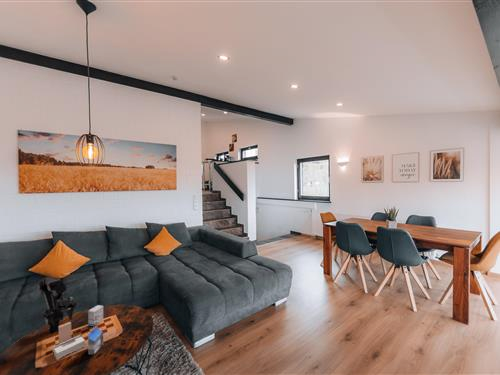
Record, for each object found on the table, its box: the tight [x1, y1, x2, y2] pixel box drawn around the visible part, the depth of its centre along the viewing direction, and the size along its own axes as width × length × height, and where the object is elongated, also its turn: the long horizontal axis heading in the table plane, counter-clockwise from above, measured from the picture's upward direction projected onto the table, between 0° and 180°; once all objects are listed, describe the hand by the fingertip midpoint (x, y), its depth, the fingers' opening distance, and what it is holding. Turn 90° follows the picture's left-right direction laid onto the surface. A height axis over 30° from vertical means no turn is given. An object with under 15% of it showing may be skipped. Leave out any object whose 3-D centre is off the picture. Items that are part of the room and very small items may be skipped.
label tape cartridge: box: [87, 325, 104, 355], centre depth 144 cm, size 9×4×12 cm, turn 1°
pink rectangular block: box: [58, 321, 73, 345], centre depth 148 cm, size 2×6×13 cm, turn 143°
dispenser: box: [52, 334, 86, 361], centre depth 144 cm, size 8×14×5 cm, turn 143°
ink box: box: [87, 304, 104, 326], centre depth 170 cm, size 9×5×12 cm, turn 168°
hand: (62, 322), depth 151 cm, fingers open, 9 cm apart
